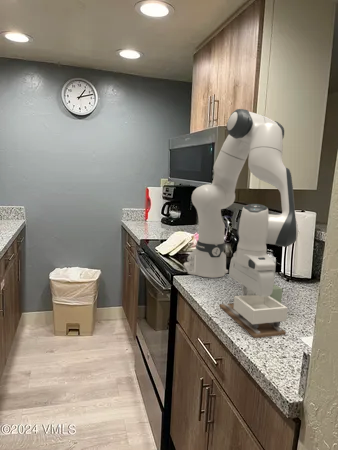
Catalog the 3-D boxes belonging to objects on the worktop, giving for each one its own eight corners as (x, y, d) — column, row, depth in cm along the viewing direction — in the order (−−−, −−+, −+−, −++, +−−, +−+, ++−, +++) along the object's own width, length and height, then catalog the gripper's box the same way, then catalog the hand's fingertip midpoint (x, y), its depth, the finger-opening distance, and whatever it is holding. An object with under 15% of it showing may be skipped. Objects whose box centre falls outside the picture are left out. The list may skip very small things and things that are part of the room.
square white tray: (232, 314, 106) (234, 296, 105) (263, 311, 110) (265, 293, 109) (251, 331, 96) (253, 310, 95) (285, 327, 99) (287, 307, 98)
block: (262, 301, 123) (264, 285, 122) (273, 300, 125) (275, 284, 124) (269, 306, 119) (271, 289, 118) (280, 305, 120) (282, 288, 119)
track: (219, 306, 116) (219, 302, 116) (245, 304, 119) (246, 300, 119) (254, 338, 96) (255, 333, 95) (285, 334, 99) (286, 330, 98)
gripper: (226, 249, 116) (223, 289, 118) (260, 266, 97) (255, 313, 99) (242, 249, 118) (239, 288, 120) (279, 266, 99) (274, 312, 101)
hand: (247, 299), depth 109 cm, fingers closed
